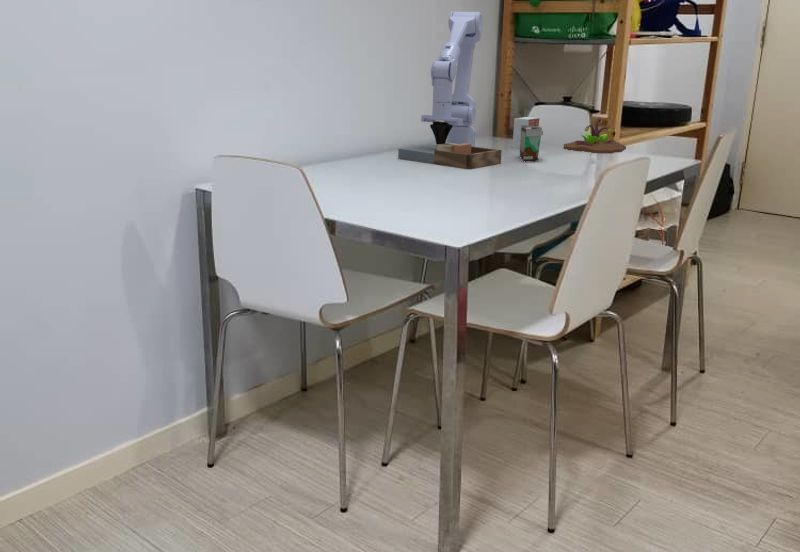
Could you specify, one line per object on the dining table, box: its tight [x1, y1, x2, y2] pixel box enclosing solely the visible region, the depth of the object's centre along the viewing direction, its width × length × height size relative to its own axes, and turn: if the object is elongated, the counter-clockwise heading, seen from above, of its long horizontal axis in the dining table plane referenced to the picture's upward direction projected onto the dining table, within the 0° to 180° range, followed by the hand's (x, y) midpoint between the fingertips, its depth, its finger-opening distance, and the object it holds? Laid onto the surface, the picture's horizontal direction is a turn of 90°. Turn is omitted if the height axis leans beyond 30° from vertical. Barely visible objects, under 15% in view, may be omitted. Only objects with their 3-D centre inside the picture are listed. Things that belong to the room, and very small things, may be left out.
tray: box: [433, 146, 502, 170], centre depth 236 cm, size 16×13×4 cm
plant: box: [563, 118, 627, 155], centre depth 269 cm, size 20×20×11 cm
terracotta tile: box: [454, 143, 472, 154], centre depth 237 cm, size 6×5×2 cm
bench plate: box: [397, 143, 437, 165], centre depth 245 cm, size 16×14×3 cm
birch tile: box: [437, 142, 456, 152], centre depth 240 cm, size 6×5×2 cm
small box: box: [512, 116, 540, 149], centre depth 270 cm, size 8×6×10 cm
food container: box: [519, 125, 544, 163], centre depth 246 cm, size 12×6×10 cm, turn 179°
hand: (440, 147), depth 242 cm, fingers closed
